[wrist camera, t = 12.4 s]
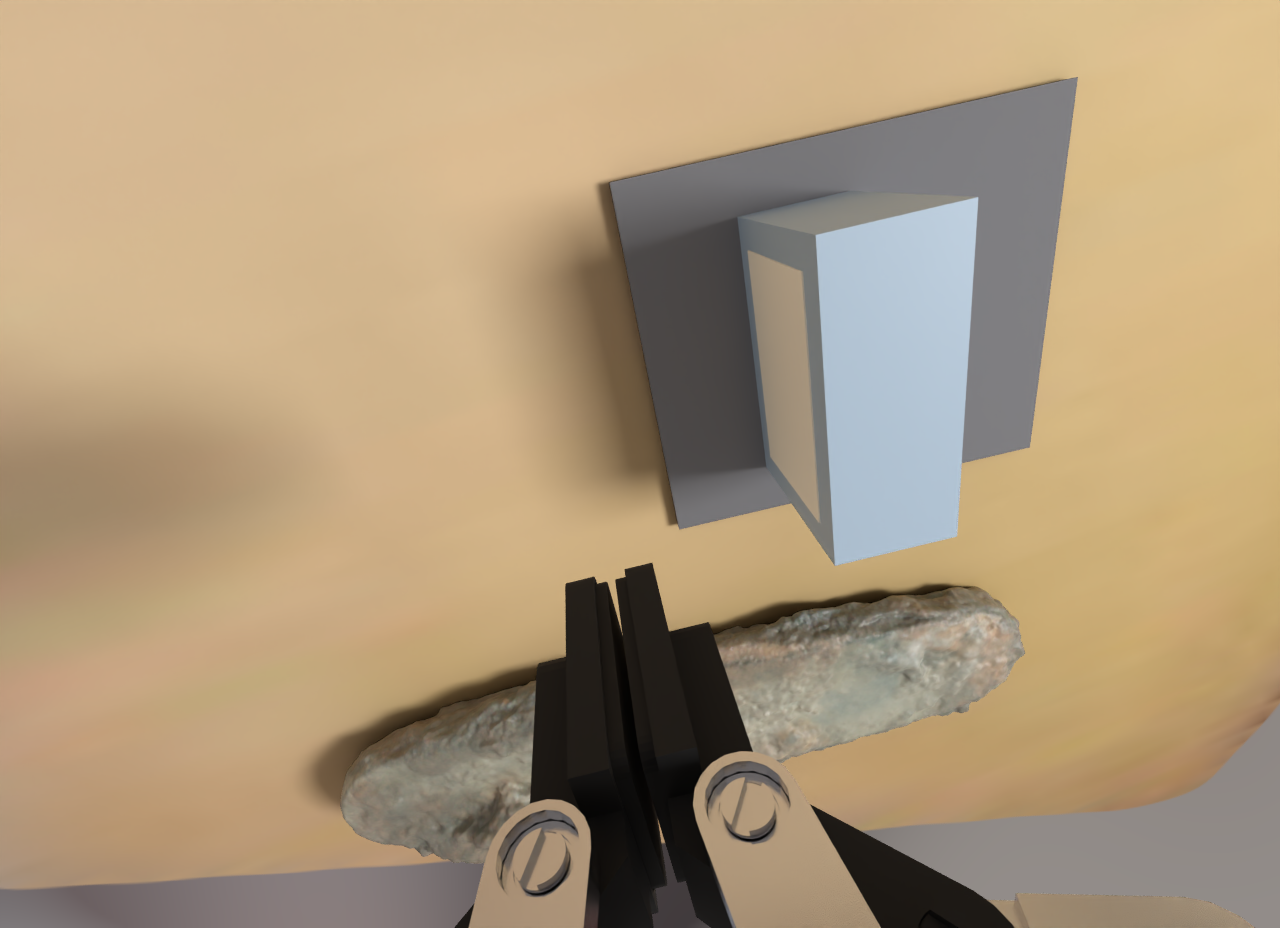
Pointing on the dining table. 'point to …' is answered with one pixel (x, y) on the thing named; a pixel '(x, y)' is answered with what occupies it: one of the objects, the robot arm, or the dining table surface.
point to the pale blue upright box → (863, 361)
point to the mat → (813, 168)
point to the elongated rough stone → (763, 689)
